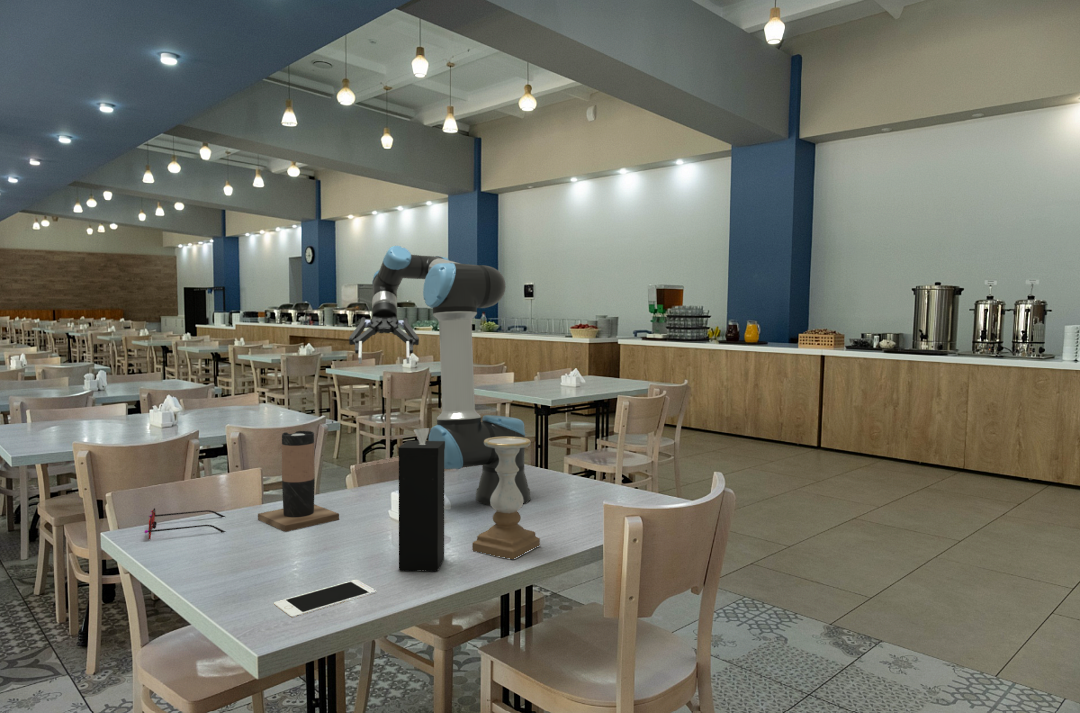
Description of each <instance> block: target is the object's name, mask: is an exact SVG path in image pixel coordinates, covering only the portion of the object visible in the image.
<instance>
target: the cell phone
mask: <svg viewBox="0 0 1080 713" xmlns="http://www.w3.org/2000/svg"><path fill="white" fill-rule="evenodd" d="M374 589H375V588H372V587H370V586H369V585H367V584H366V583H363V581H360V580H359V579H353V580H349V581H346V582H341V583H338V584H335V585H332V586H331V585H330V586H327V587H324V588H319V589H317V590H313V591H309V592H306V593H303V594H299V595H296V596H295V595H294V596H292V597H287V598H284V599H281V600H277V601H274V602H273V605H274V606H275V605H276V606H275V607H277V608H278V609H279V610H280V611H282V612H283V611H284V612H283V613H285V614H286V613H287V614H288V615H287V614H286V615H287V616H289V615H290V616H291V617H290V616H289V617H290V618H294V617H293V616H296V617H298V616H297V615H300V614H303V615H305V614H304V613H307V614H309V613H308V612H310V611H313V610H316V609H320V608H322V607H325V606H326V607H327V606H329V605H333V604H334V603H335V604H336V603H340V602H342V601H343V600H345V601H346V600H349V598H350V599H351V598H355V597H359V596H363V595H365V594H369V593H371V592H375V591H376V592H377V590H376V589H375V590H374ZM340 604H341V603H340ZM333 606H334V605H333ZM327 608H328V607H327ZM320 610H321V609H320ZM313 612H314V611H313ZM310 613H311V612H310ZM300 616H301V615H300Z"/></svg>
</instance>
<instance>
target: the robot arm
mask: <svg viewBox="0 0 1080 713" xmlns="http://www.w3.org/2000/svg"><path fill="white" fill-rule="evenodd" d="M403 279H411V280H412V279H413V280H424V281H423V288H422V289H423V291H422V295H423V300H424V303H425V305H426V306H427V307H429V308H432V316H433V317H434V318H435V319H437V321H438V329H439V330H438V331H439V332H438V336H439V357H440V360H439V361H440V380H441V382H440V385H441V389H440V390H441V412H440V414H439V415H438V416H437V417H436V425H434V426H432V427H431V428H430V429H429V433H428V441H445V449H444V470H461V469H464V468H471V467H479V466H482V469H481V470H482V472H481V476H480V479H479V482H478V483H479V484H478V487H477V488H476V490H475V500H476V502H477V503H480V504H483V505H487V506H491V504H490V498H491V495H492V493H493V492H494V490H495V489H496V487H497V485H498V483H499V476H498V474H497V472H496V471H495V468H496V467H497V465H498V463H499V456H498V455H497V453H496V452H495V448H491V447H487V446H485V445H484V440H485V439H487V438H492V437H503V436H511V437H523V438H526V432H525V423H524V421H523V420H522V419H519V418H518V417H517V418H516V417H512V416H510V417H509V416H503V415H493V414H491V415H490V414H489V415H488V414H487V415H483V416H481V415H480V414H479V413H478V412H477V411H476V406H475V405H476V403H475V378H474V377H475V376H474V375H475V374H474V354H473V353H474V352H473V348H474V347H473V326H472V324H473V323H472V320H473V319H474V318H475V317H476V315H478V311H477V310H478V309H486V308H489V307H493V306H495V305H496V304H497V303H499V302H500V301H501V299H502V298H503V297H504V295H505V292H506V280H505V277H504V276H503V274H502V273H501V272H500V271H499V270H498V269H496V268H495V267H493V266H489V265H483V264H482V265H480V264H479V265H477V264H467V263H459V262H455V261H453V260H449V258H448V257H446V256H445V257H443V256H441V255H439V256H438V255H435V256H434V255H433V256H432V255H418V254H411V252H410V251H409V250H408V249H407V248H406V247H402V246H401V245H393V246H391V247H389V248H388V250H387V251H386V253H385V255H384V257H383V260H382V263H381V265H380V269H378V270H377V271H376V272H374V274H373V278H372V301H371V302H372V304H371V307H372V308H371V309H372V310H371V319H366V317H364V316H363V317H361V318H360V322H359V323H358V325H357V327H355V329H354V331H352V333H351V334H350V335H349V337H348V343H349V344H348V345H350V346H352V345H354V353H355V354H358V356H357V357H358V365H361V364H362V361H363V360H362V359H363V357H362V356H363V355H362V354H363V344H364V343H365V342H366V341H368V340H369V339H370V338H372V337H373V336H375V335H376V334H377V333H378V334H390V333H392V334H393V335H394V336H396V337H398V338H399V339H400V340H401V341H402V342H403V343H405V344H406V348H405V350H406V353H405V354H406V355H405V356H406V364H410V354H413V353H414V346H418V345H420V344H419V343H420V337H419V336H418V334H417V333H416V331H415V330H414V329H413V327H411V325H410V324H409V321H408V318H407V317H404V318H403V320H402V319H400V320H399V319H398V299H397V298H398V297H397V296H398V294H397V293H398V290H399V287H400V285H401V283H402V281H403ZM369 325H370V326H369ZM368 326H369V328H367V327H368ZM399 326H401V328H403V330H402V329H401V328H400V327H399ZM366 328H367V329H366ZM365 329H366V330H365ZM525 448H526V447H524V448H520V450H519V452H518V454H517V455H516V458H515V463H516V465H517V467H518V468H519V471H518V472H517V474H516V476H515V483H516V485H517V487H518V489H519V490H520V492H521V494H522V496H523V500H524V502H523V503H524V504H526V502H527V503H528V502H530V501H529V500H531V489H530V488H529V485H528V480H527V477H526V476H527V475H526V472H525Z"/></svg>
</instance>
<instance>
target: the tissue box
mask: <svg viewBox="0 0 1080 713" xmlns="http://www.w3.org/2000/svg"><path fill="white" fill-rule="evenodd" d="M413 431H414V434H415V436H416V438H417V440H406V441H405V442H404V443H402V444H401V445H399V447H398V453H397V455H398V571H399V570H400V571H403V570H404V571H405V570H409V571H408V572H410V570H411V572H418V571H417V570H421V571H420V572H438V571H439V570H438V569H440V568H439V567H441V566H442V563H443V562H444V559H445V469H444V449H445V441H429V440H427V439H428V437H429V433H430V428H429V427H428V428H427V427H426V428H425V427H424V428H415V429H413ZM413 570H414V571H413ZM422 570H424V571H422ZM425 570H426V571H425Z"/></svg>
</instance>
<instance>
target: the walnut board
mask: <svg viewBox="0 0 1080 713" xmlns="http://www.w3.org/2000/svg"><path fill="white" fill-rule="evenodd" d="M257 520H258V521H260V522H263V523H265V524H267V525H270V526H271V527H273V528H276V529H278V530H280V531H283V532H284V533H286V532H290V531H291V530H292V531H295V530H299V529H303V528H304V529H305V528H309V527H312V526H318V525H321V524H325V523H330V522H334V521H338V520H340V513H338V512H336V511H333V510H332V509H328V508H325V507H322V506H320V505H317V504H315V503H314V513H313V514H311V515H308V516H304V517H286V516H284V513H283V508H279V509H274V510H270V511H269V510H268V511H264V512H260V513H257Z"/></svg>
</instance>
